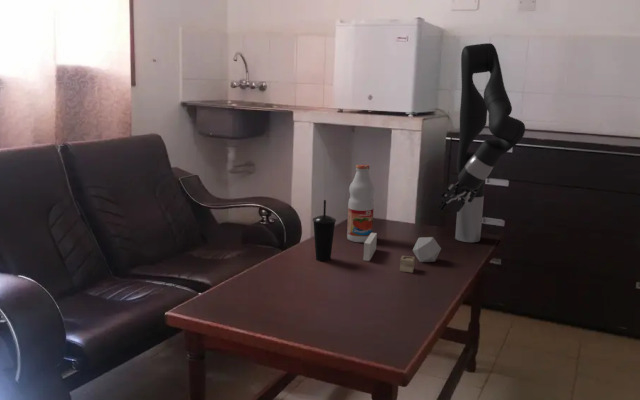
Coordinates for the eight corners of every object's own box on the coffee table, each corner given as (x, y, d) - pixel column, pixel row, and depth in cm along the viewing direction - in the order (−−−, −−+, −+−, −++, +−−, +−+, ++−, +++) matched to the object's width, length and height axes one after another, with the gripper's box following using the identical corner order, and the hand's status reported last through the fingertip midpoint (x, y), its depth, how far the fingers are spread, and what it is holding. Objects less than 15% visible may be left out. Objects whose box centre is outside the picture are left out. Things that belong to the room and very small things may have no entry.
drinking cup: (307, 260, 202) (308, 200, 198) (318, 254, 208) (320, 196, 204) (328, 264, 198) (330, 203, 194) (338, 258, 205) (340, 199, 201)
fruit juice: (363, 235, 235) (366, 162, 229) (377, 241, 226) (380, 166, 221) (342, 237, 230) (344, 163, 224) (355, 244, 222) (358, 167, 216)
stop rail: (370, 249, 216) (371, 232, 215) (376, 249, 216) (376, 233, 215) (363, 260, 203) (364, 243, 202) (369, 261, 203) (370, 243, 201)
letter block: (401, 267, 197) (402, 255, 197) (413, 268, 196) (414, 256, 196) (399, 271, 193) (400, 259, 193) (412, 272, 193) (413, 260, 192)
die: (435, 268, 200) (448, 242, 202) (413, 254, 199) (426, 229, 201) (426, 269, 208) (439, 244, 210) (405, 256, 207) (417, 231, 209)
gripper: (481, 165, 197) (453, 203, 205) (454, 162, 188) (426, 202, 196) (496, 180, 193) (467, 218, 201) (470, 177, 184) (440, 217, 191)
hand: (447, 210), depth 198 cm, fingers open, 8 cm apart
